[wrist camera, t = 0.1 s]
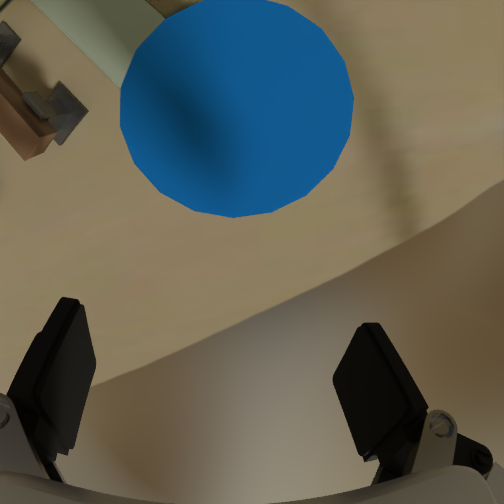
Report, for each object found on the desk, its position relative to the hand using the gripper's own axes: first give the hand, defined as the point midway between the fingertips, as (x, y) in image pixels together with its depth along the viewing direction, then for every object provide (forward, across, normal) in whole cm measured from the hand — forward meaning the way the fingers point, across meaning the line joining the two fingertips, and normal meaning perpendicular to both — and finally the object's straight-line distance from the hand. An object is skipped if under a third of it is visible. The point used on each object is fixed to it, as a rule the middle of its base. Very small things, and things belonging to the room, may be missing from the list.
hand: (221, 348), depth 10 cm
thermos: (+31, 0, -7) cm, 32 cm away
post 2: (+31, +22, -5) cm, 38 cm away
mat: (+31, +20, -21) cm, 43 cm away
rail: (+23, +29, -11) cm, 39 cm away
